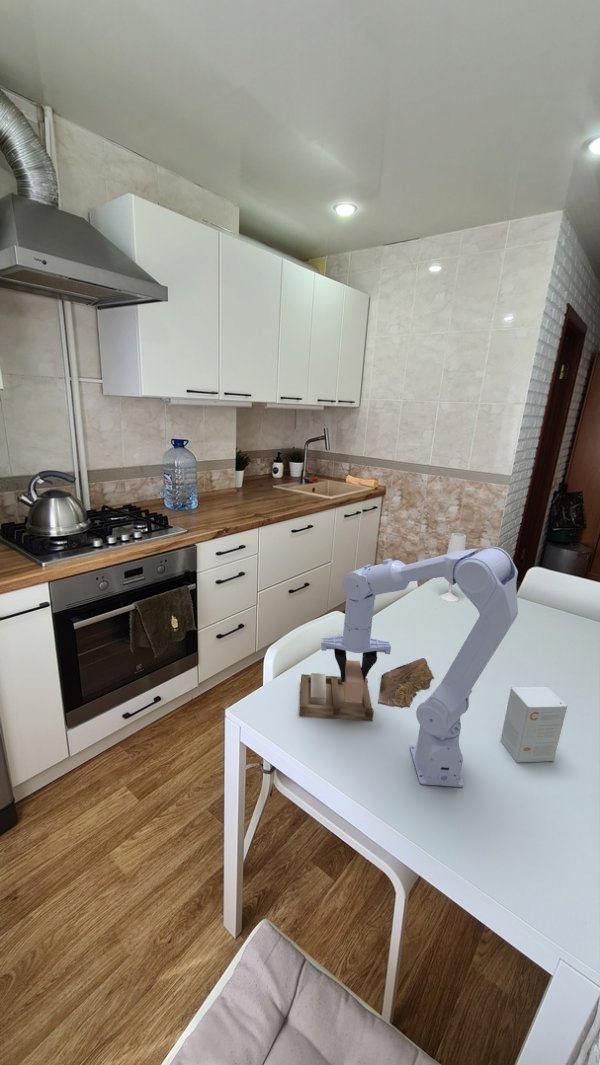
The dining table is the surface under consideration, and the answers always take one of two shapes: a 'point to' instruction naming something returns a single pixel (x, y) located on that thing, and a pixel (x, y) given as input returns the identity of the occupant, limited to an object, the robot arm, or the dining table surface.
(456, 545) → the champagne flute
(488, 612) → the robot arm
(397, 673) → the wooden fragment
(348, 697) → the clay bar
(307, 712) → the rack
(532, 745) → the small box
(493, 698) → the dining table surface
